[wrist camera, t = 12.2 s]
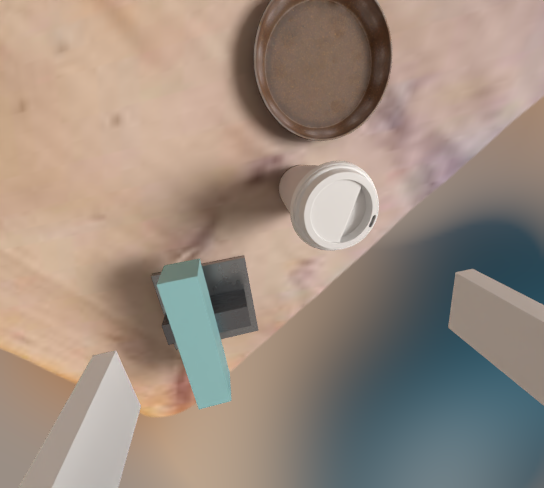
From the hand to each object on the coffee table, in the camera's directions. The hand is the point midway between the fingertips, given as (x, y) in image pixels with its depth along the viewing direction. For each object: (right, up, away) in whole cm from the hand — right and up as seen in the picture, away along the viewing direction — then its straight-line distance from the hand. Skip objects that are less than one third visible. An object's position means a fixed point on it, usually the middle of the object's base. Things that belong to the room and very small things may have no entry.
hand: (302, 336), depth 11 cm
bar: (-11, -8, +29) cm, 32 cm away
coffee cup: (+3, +12, +31) cm, 33 cm away
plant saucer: (+5, +27, +26) cm, 37 cm away
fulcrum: (-11, -6, +35) cm, 37 cm away
